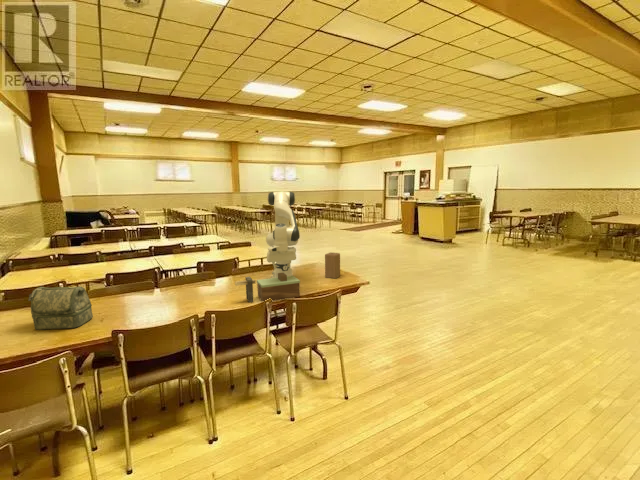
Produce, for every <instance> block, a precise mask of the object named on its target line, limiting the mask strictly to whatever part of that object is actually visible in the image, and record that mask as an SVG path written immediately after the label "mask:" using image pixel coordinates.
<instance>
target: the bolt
mask: <svg viewBox="0 0 640 480" xmlns="http://www.w3.org/2000/svg"><path fill="white" fill-rule="evenodd" d="M252 282H253V285H254V284H257V279H255V278H254V279H253V278H252ZM246 284H247V280H246V279H245V280H238V281H237V280H236V281H234V285H235V286H236V287H237V286H238V287H239V286H244V285H245V286H246Z"/></svg>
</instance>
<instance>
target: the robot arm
mask: <svg viewBox="0 0 640 480" xmlns="http://www.w3.org/2000/svg"><path fill="white" fill-rule="evenodd" d="M266 199H267V203H268V204H269V205H270V206H273V209H274V224H275V225H274V229H273V231H272V232H271V233H268V234H267V235H266V237H265V242H266V244H267V245H268V246H269V247H268V248H267V252H266V262H267V263H270V264H272V265H273V271H271V275H270V278H278V273H284V274H286V275H287V276H294V275H293V269H292V268H291V265H292V261H296V260H297V254H296V251H297V249H296V247H295V246H296V245H297V244H298V243H299V240H300V239H301V238H300V237H301V232H300V229H299V226H298V224H297V218H296V214H295V211H294V209H292V208H291V207H292V206H293V205H295V203H296V200H297V198H296V195H295V193H294V192H293V191H271V192H269V193H268V195H267V197H266ZM290 224H291V225H290Z"/></svg>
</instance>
